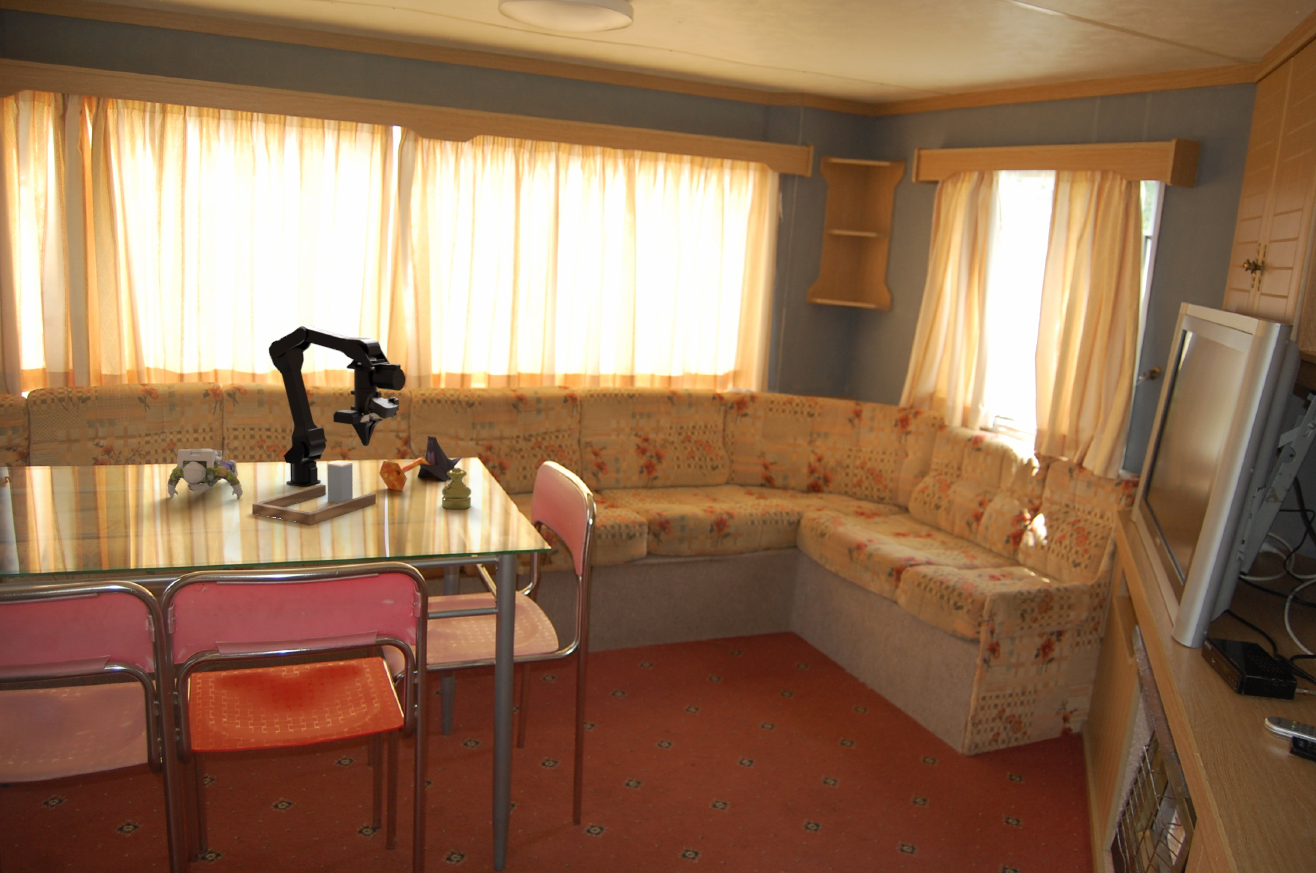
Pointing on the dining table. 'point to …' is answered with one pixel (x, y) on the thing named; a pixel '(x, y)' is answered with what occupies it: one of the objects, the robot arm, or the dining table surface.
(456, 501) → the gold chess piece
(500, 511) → the dining table surface
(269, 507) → the rail pen
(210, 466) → the toy
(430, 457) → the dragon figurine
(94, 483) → the dining table surface
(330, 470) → the long block
